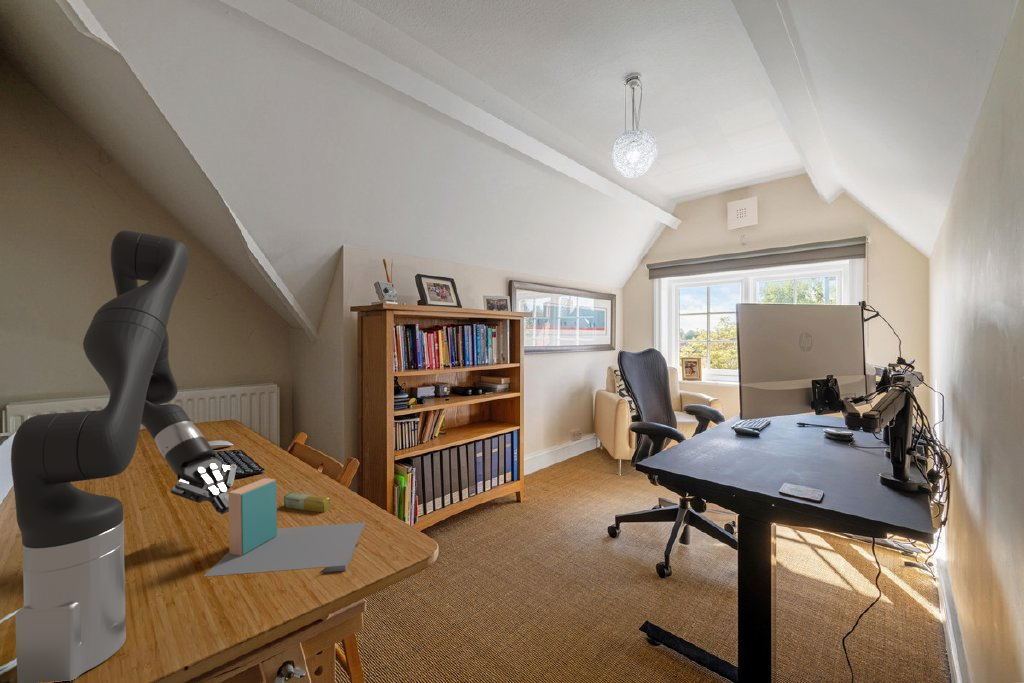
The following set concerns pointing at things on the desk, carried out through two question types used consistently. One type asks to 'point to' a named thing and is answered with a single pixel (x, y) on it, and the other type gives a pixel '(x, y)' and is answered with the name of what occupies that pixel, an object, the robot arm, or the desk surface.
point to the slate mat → (296, 551)
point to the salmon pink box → (252, 516)
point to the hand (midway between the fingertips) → (228, 510)
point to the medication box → (307, 502)
